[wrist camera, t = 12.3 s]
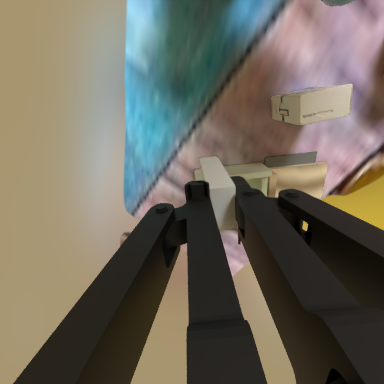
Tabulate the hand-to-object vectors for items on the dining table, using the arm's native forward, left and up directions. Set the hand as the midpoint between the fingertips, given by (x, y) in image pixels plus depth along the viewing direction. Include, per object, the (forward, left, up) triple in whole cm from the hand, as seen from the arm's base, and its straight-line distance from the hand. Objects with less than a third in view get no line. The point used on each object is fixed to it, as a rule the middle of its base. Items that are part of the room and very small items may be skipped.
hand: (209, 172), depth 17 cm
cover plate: (+15, +23, -29) cm, 40 cm away
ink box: (-3, +21, -30) cm, 36 cm away
